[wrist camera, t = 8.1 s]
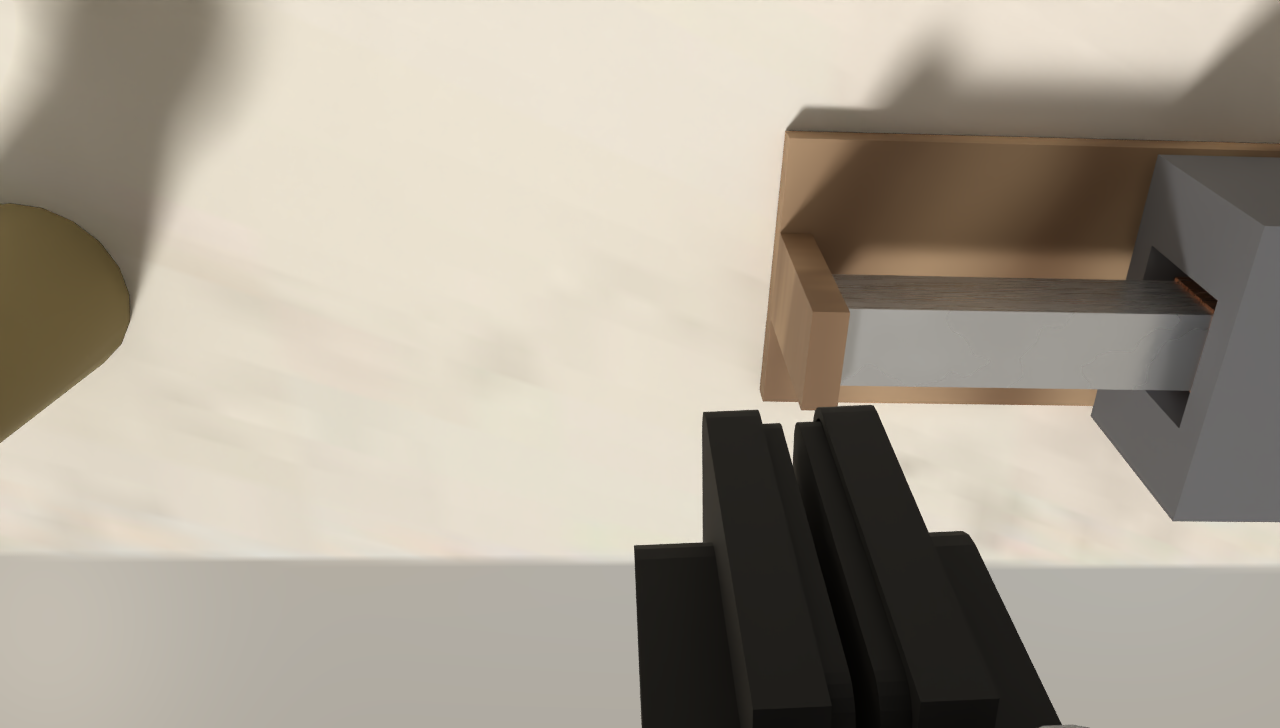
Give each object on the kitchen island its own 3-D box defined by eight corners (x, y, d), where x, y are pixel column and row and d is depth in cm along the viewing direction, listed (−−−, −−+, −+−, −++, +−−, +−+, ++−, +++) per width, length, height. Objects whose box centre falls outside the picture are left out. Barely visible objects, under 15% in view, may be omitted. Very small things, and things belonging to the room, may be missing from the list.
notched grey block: (1287, 157, 34) (1417, 229, 29) (1207, 417, 38) (1307, 522, 33) (1157, 154, 34) (1264, 226, 28) (1090, 416, 38) (1173, 521, 32)
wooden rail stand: (1356, 145, 35) (1508, 219, 30) (1271, 396, 40) (1389, 505, 34) (785, 130, 34) (825, 203, 29) (759, 389, 39) (790, 500, 33)
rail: (1369, 280, 34) (1425, 317, 32) (1340, 357, 35) (1393, 398, 33) (808, 269, 33) (825, 306, 31) (799, 348, 34) (814, 390, 32)
